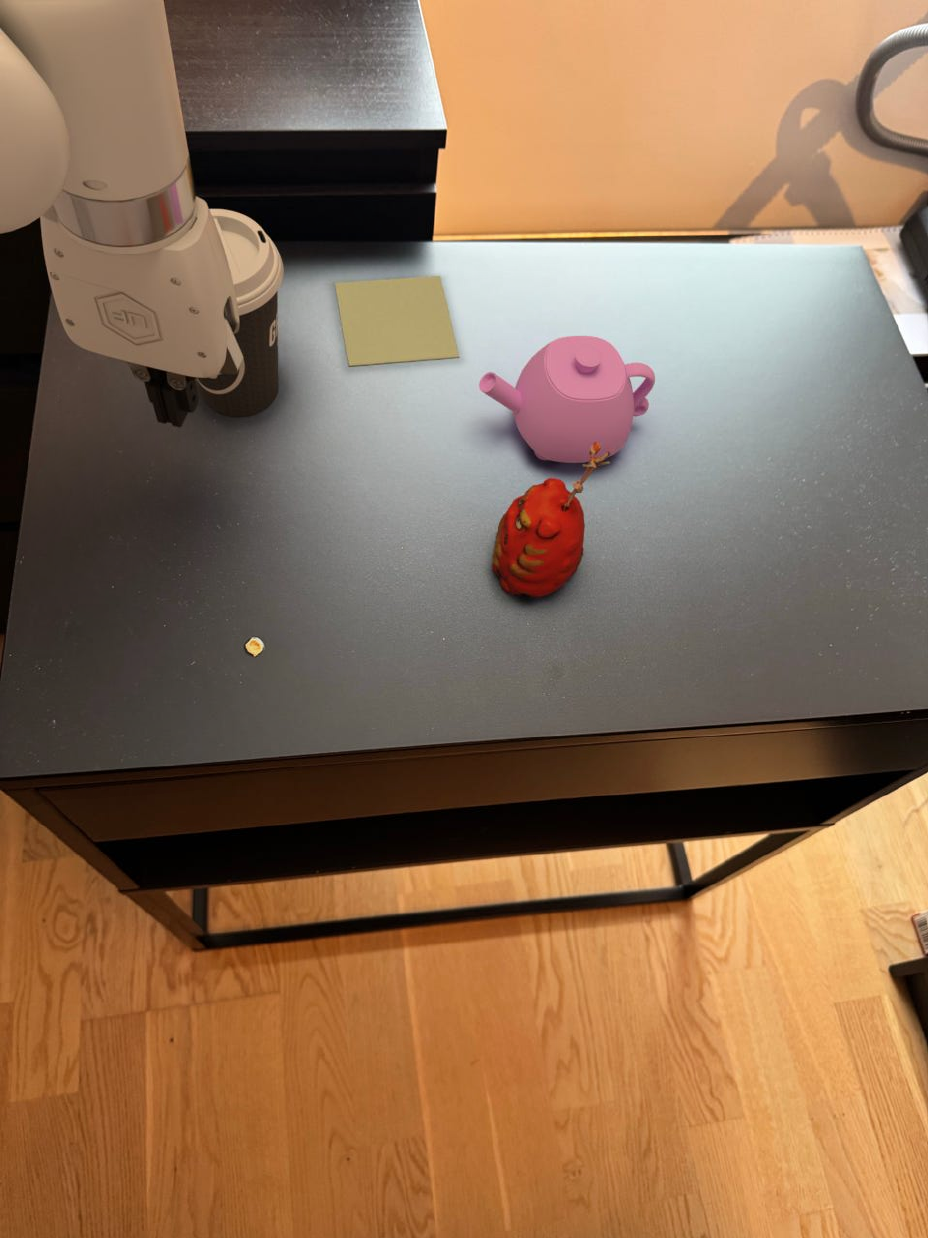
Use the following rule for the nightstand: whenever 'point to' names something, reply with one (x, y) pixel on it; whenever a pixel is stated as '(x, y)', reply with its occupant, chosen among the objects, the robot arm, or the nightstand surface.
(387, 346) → the mat
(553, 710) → the nightstand surface
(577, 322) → the nightstand surface
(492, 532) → the nightstand surface
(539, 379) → the teapot
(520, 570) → the red clay folk toy
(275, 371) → the coffee cup
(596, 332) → the nightstand surface
